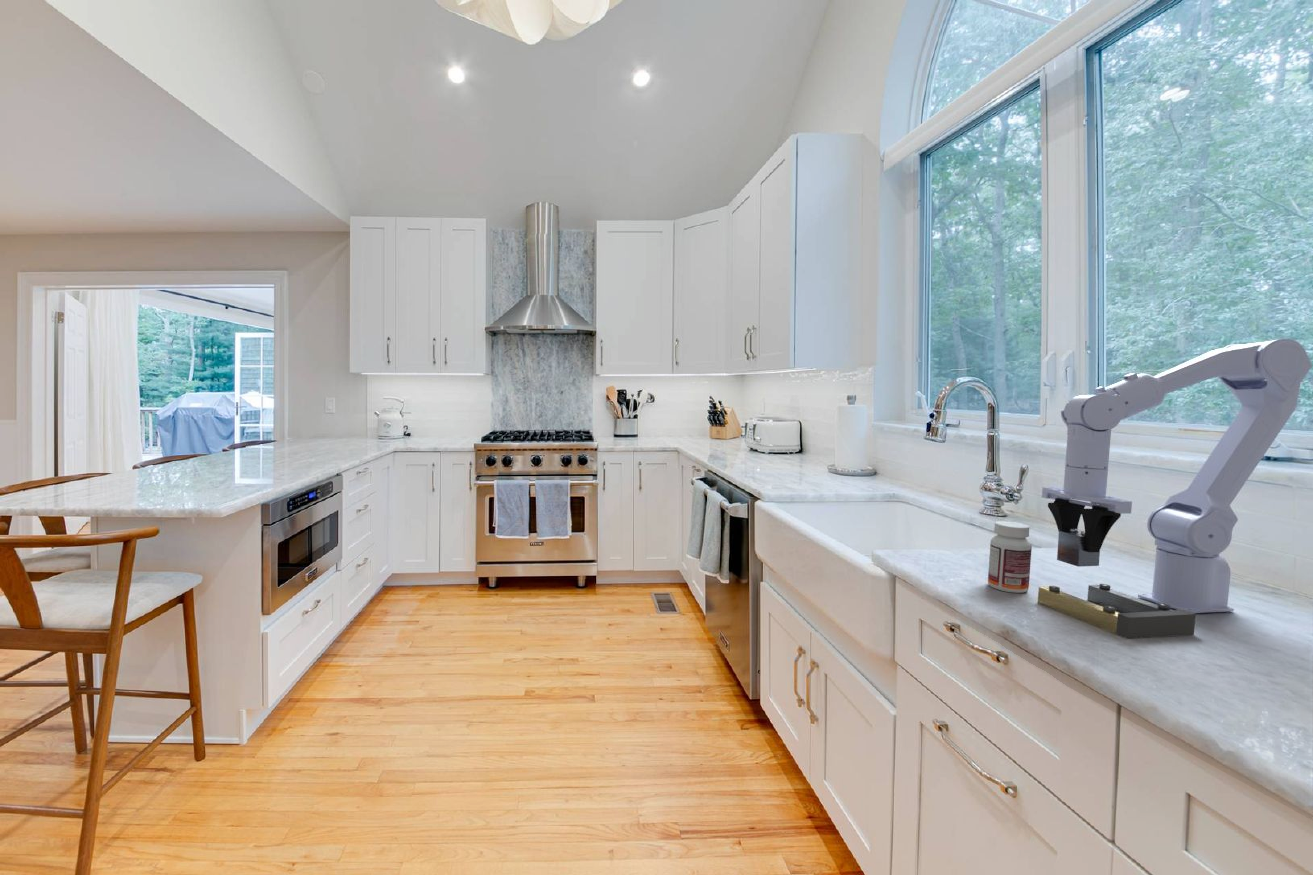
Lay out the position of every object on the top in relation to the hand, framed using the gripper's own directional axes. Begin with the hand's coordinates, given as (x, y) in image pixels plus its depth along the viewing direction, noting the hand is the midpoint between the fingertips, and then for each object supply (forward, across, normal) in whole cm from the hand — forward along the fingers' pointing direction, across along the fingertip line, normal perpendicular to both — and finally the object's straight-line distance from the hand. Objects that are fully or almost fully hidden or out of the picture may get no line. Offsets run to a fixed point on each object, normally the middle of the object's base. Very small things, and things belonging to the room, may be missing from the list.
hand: (1079, 548), depth 96 cm
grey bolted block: (+2, 0, 0) cm, 3 cm away
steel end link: (+8, +8, +2) cm, 12 cm away
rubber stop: (+8, +15, -3) cm, 17 cm away
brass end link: (+8, +8, -8) cm, 14 cm away
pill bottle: (+9, -6, -8) cm, 13 cm away
